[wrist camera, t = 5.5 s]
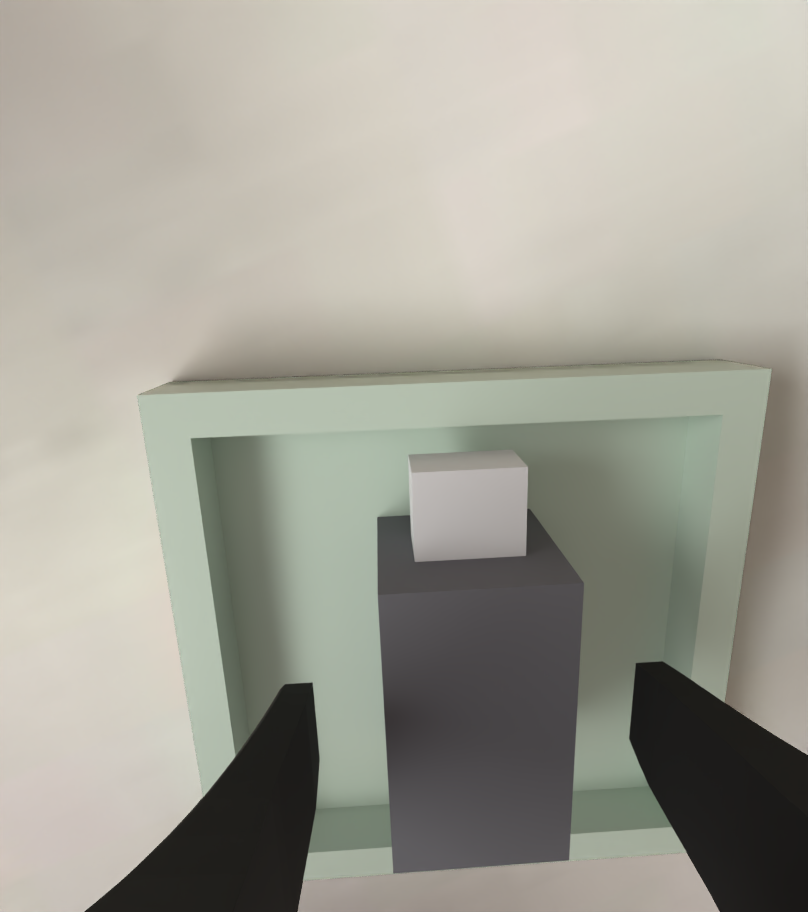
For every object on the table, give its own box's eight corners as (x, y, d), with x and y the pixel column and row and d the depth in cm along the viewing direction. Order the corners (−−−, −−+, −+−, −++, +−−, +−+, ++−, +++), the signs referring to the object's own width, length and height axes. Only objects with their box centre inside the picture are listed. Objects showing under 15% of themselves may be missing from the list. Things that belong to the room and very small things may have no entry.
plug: (524, 730, 17) (569, 860, 13) (389, 739, 16) (393, 873, 13) (532, 434, 14) (589, 485, 10) (373, 442, 14) (371, 496, 10)
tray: (669, 793, 18) (703, 851, 16) (235, 823, 18) (217, 886, 16) (719, 359, 15) (772, 368, 13) (169, 381, 14) (136, 395, 12)
